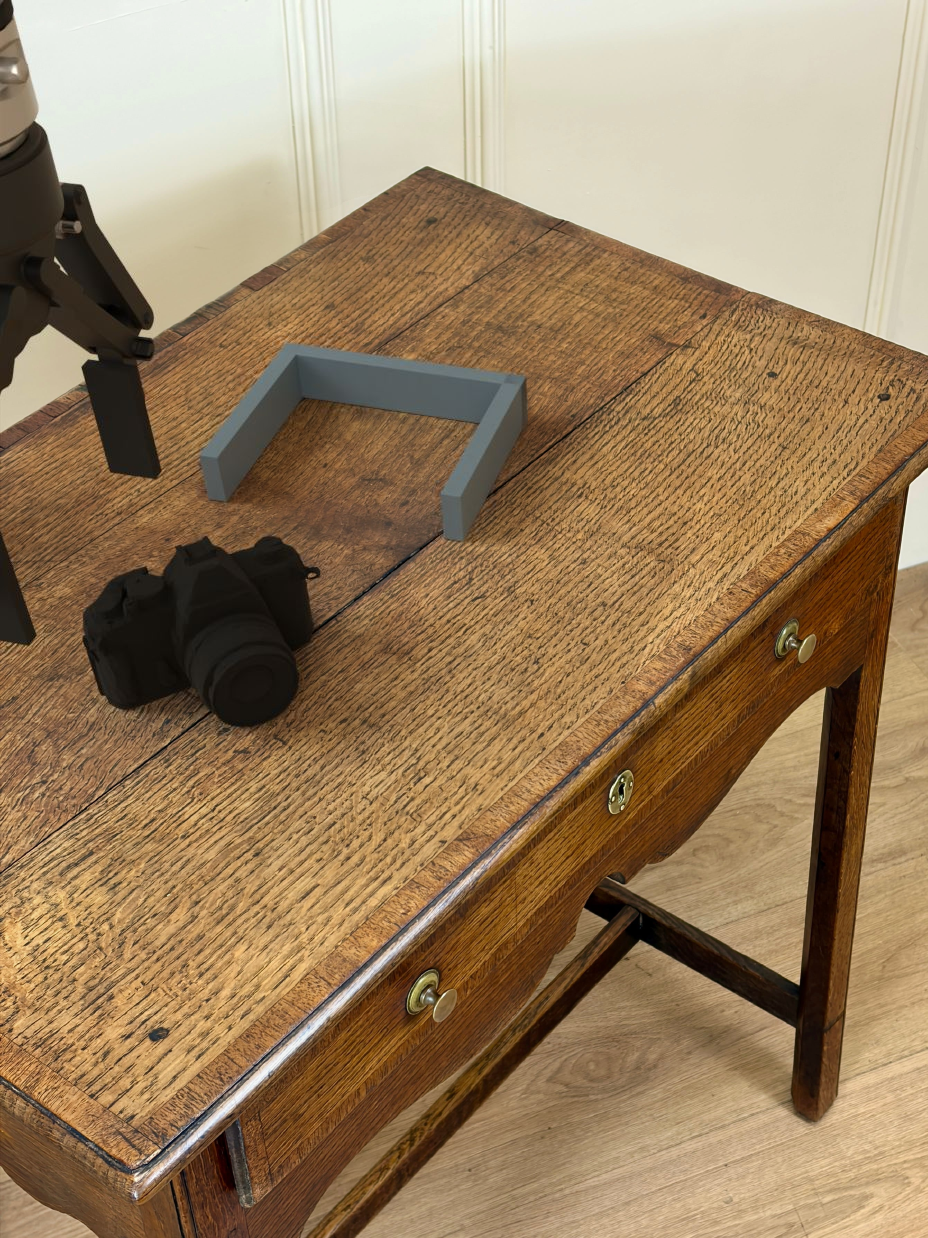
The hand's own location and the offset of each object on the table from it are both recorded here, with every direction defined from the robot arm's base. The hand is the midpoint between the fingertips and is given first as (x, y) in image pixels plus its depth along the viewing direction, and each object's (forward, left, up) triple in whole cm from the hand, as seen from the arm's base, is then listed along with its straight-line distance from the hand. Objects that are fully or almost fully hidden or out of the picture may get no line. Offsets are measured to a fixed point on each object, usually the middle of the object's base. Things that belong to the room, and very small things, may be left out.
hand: (76, 549), depth 74 cm
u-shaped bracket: (0, +36, -19) cm, 41 cm away
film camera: (0, +10, -19) cm, 22 cm away
